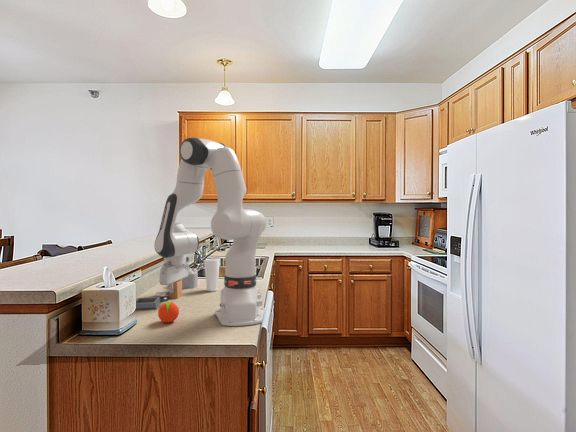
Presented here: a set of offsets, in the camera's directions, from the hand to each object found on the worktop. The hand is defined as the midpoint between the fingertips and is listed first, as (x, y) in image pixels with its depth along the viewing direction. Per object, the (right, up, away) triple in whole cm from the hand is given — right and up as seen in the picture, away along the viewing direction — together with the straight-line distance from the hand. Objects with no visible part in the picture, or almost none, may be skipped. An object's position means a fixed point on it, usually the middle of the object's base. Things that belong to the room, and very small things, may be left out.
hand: (174, 291), depth 154 cm
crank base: (-4, -3, -5) cm, 7 cm away
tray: (-7, -3, -15) cm, 16 cm away
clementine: (+9, -4, -34) cm, 36 cm away
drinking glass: (+14, -3, +12) cm, 19 cm away
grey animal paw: (-1, -3, +23) cm, 23 cm away
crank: (-3, -1, -1) cm, 4 cm away
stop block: (0, -3, 0) cm, 3 cm away
